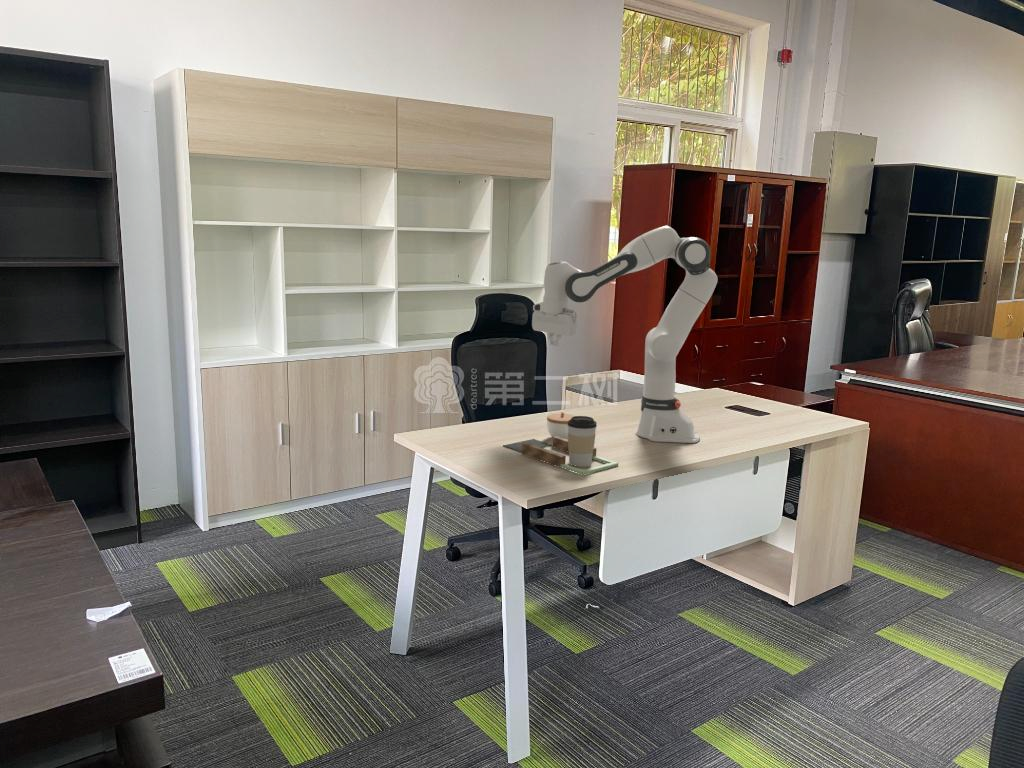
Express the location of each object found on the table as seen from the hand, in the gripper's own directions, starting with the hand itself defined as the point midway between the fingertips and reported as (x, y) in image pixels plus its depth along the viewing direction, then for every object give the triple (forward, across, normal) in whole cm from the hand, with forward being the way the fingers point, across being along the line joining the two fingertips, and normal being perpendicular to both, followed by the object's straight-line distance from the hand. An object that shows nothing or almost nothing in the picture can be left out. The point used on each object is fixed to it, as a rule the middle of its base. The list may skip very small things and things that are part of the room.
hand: (553, 345), depth 270 cm
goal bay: (+31, -39, +22) cm, 55 cm away
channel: (+31, -26, +22) cm, 46 cm away
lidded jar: (+31, -11, +6) cm, 34 cm away
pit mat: (+31, -11, +22) cm, 40 cm away
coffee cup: (+31, -36, +22) cm, 52 cm away
